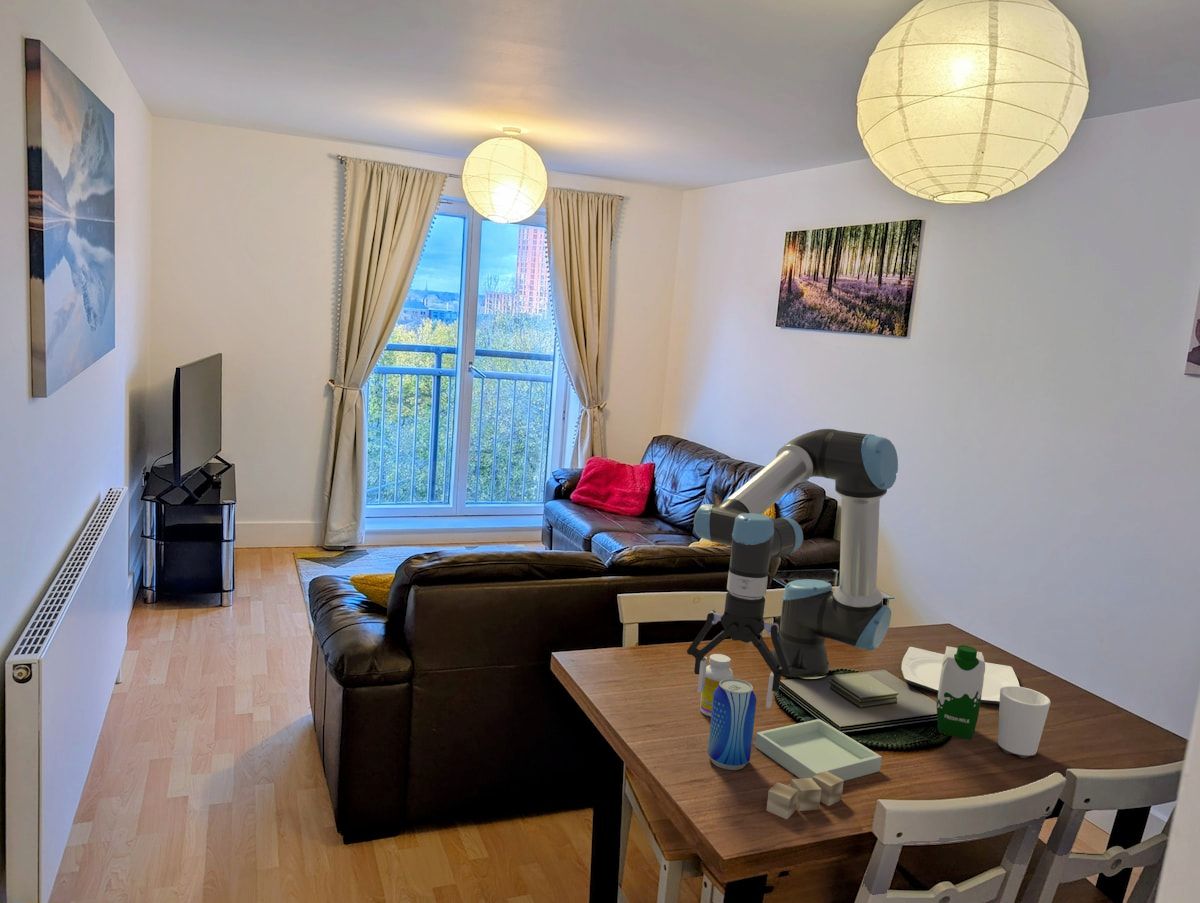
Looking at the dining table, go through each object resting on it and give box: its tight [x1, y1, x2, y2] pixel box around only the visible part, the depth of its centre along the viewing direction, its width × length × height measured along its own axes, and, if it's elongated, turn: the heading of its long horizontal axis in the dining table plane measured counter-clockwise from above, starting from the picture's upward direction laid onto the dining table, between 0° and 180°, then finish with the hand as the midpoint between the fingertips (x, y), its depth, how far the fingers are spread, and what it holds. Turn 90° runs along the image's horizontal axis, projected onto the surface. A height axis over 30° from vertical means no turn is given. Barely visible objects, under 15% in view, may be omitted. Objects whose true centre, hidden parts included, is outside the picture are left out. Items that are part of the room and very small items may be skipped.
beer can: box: [707, 678, 757, 771], centre depth 172 cm, size 8×8×16 cm
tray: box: [754, 718, 883, 782], centre depth 177 cm, size 18×18×3 cm
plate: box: [900, 646, 1021, 705], centre depth 224 cm, size 29×29×3 cm
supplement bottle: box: [699, 653, 734, 718], centre depth 194 cm, size 7×7×13 cm
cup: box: [997, 686, 1052, 759], centre depth 186 cm, size 10×10×13 cm
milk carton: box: [936, 645, 986, 741], centre depth 194 cm, size 9×9×20 cm
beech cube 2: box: [790, 778, 822, 812], centre depth 159 cm, size 4×4×4 cm
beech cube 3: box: [765, 781, 798, 820], centre depth 156 cm, size 4×4×4 cm
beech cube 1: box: [813, 771, 845, 807], centre depth 162 cm, size 4×4×4 cm
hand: (734, 698), depth 171 cm, fingers open, 13 cm apart
